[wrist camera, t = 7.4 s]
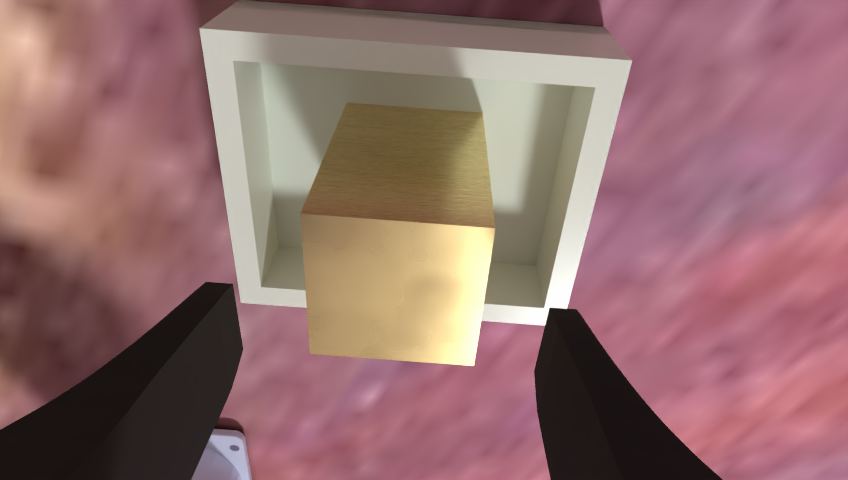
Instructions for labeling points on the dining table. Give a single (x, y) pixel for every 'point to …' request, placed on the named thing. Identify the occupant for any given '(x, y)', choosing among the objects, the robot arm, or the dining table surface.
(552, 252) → the tote
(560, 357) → the robot arm
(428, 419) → the dining table surface
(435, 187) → the tea tin
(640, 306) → the dining table surface
